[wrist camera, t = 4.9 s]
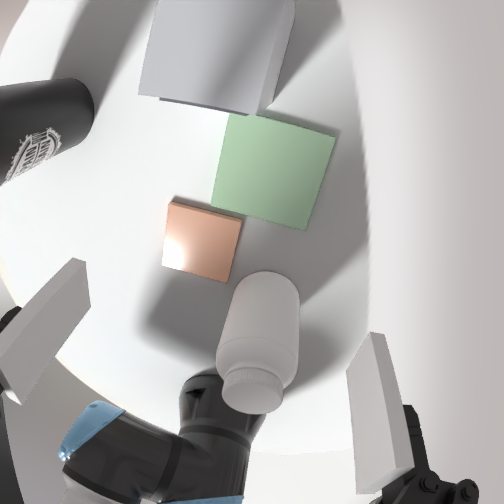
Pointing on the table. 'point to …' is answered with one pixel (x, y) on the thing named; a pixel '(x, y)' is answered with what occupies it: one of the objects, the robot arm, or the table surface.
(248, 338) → the pill bottle
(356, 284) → the table surface
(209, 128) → the table surface
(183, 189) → the table surface
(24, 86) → the water bottle
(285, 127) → the green pad
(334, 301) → the table surface
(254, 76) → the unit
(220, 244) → the terracotta pad
